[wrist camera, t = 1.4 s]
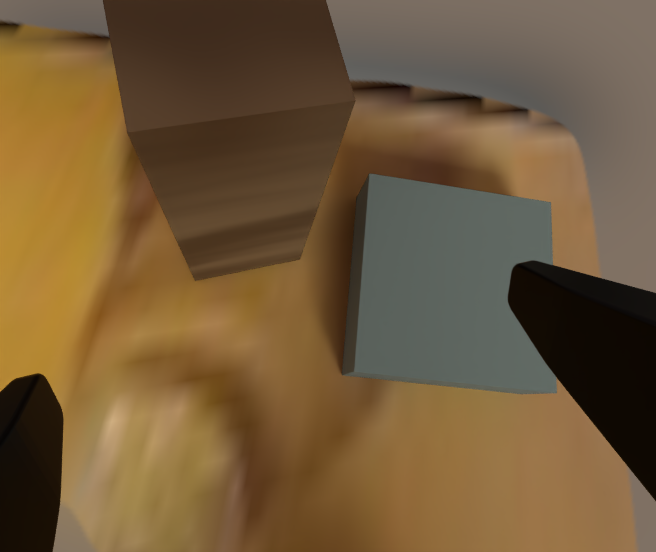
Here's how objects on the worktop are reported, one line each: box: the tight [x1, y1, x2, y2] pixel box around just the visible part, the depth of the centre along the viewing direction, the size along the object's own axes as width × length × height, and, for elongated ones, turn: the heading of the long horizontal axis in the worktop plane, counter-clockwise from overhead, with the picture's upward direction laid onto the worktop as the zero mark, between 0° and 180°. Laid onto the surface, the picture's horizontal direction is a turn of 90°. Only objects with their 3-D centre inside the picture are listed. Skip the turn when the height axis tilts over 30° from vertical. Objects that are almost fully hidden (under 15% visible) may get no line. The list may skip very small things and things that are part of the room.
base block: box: [342, 173, 557, 394], centre depth 23 cm, size 9×9×3 cm
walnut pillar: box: [103, 0, 355, 281], centre depth 17 cm, size 5×5×13 cm
